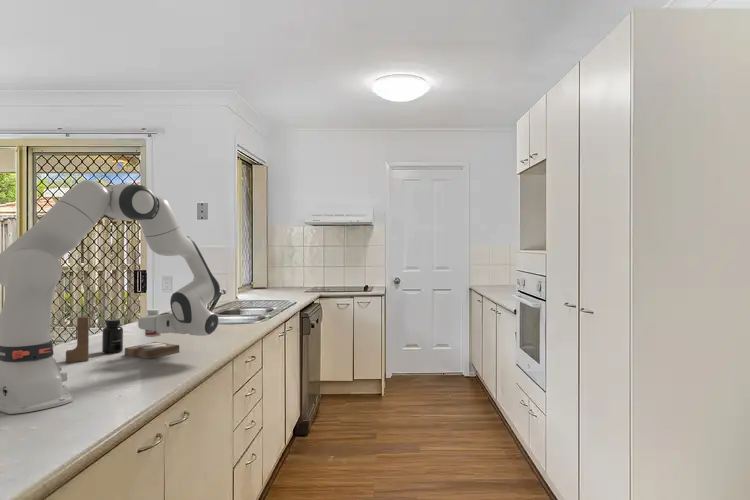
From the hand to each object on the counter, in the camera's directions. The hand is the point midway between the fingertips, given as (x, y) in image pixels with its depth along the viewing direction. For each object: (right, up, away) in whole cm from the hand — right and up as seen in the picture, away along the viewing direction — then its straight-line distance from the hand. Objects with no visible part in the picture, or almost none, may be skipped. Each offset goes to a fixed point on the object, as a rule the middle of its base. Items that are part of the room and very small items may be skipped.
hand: (151, 318), depth 186 cm
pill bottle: (+1, -7, 0) cm, 7 cm away
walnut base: (+1, -13, 0) cm, 13 cm away
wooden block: (-20, -13, -13) cm, 27 cm away
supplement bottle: (-15, -13, +2) cm, 20 cm away
